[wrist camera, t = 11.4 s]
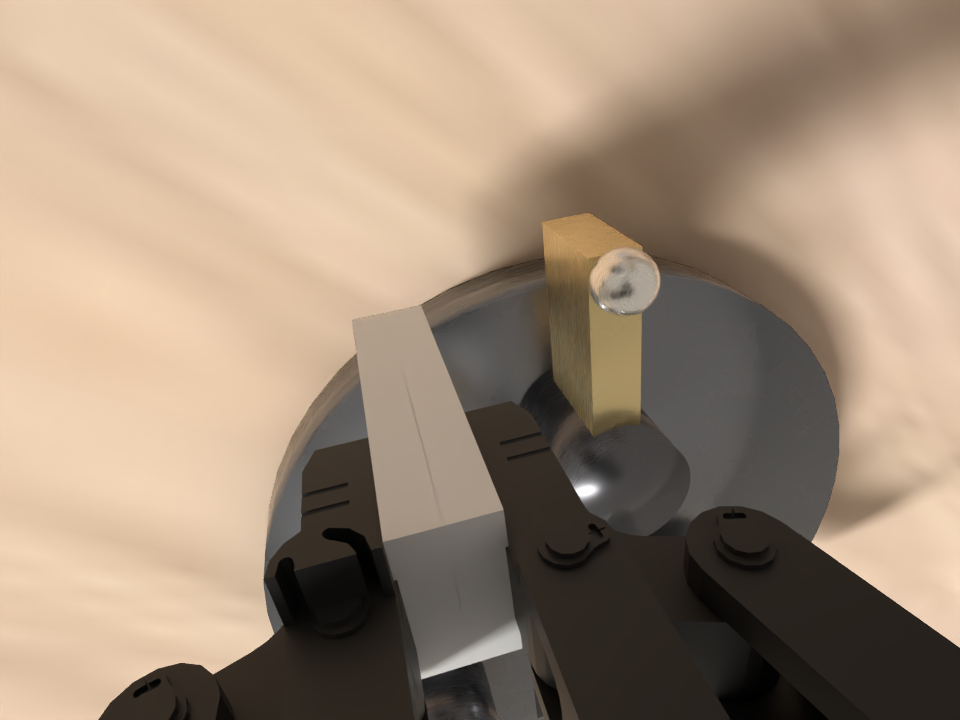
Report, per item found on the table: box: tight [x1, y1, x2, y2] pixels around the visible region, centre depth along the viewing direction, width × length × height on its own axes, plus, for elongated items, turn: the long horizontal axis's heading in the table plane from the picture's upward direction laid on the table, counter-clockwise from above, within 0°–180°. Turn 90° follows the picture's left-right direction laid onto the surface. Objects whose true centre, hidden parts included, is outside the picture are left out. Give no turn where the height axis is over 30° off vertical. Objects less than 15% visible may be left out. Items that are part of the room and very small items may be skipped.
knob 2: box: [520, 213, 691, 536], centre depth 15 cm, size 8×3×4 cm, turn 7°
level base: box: [264, 257, 839, 720], centre depth 20 cm, size 21×21×8 cm
